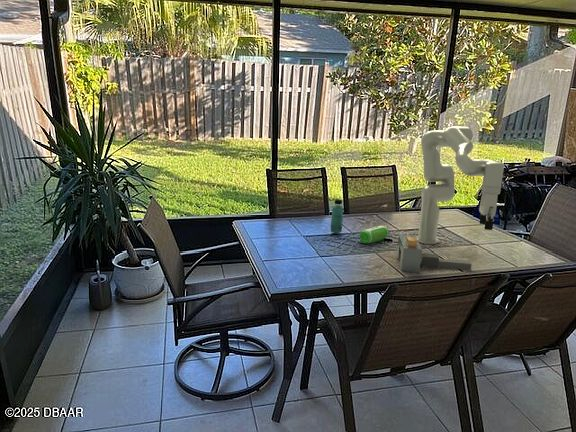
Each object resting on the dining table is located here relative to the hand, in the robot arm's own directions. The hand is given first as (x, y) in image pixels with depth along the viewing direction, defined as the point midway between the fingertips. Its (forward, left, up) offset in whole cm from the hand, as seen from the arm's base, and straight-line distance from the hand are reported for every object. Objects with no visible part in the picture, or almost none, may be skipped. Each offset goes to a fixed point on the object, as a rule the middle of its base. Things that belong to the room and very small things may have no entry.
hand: (485, 226), depth 191 cm
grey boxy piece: (+1, -33, -21) cm, 39 cm away
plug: (+1, -16, -21) cm, 26 cm away
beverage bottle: (-36, -68, -21) cm, 80 cm away
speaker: (-30, -47, -21) cm, 59 cm away
